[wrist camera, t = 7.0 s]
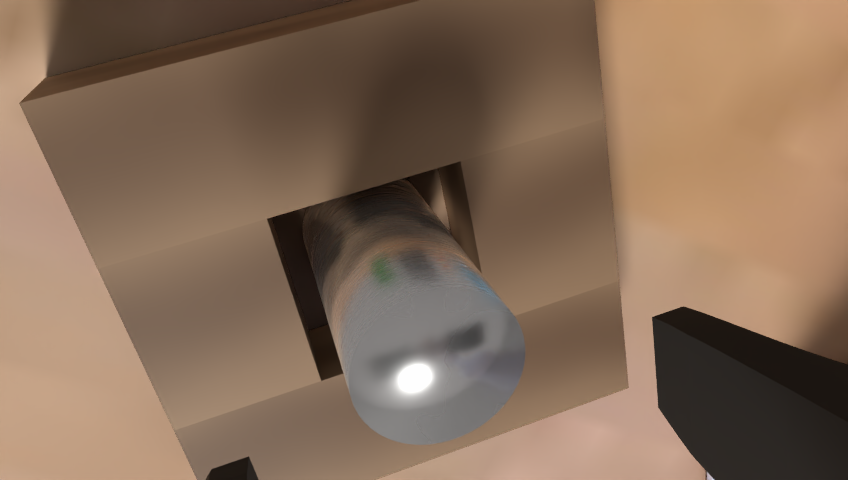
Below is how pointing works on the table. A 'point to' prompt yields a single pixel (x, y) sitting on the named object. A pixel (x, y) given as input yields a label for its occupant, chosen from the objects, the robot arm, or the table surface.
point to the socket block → (331, 178)
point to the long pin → (410, 316)
